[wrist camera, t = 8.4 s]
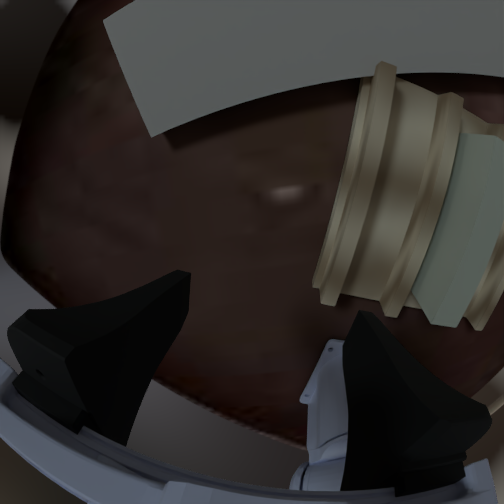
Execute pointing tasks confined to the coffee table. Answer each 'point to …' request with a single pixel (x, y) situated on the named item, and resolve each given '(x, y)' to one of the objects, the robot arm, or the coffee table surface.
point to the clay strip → (463, 230)
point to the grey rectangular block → (289, 47)
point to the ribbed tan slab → (398, 196)
